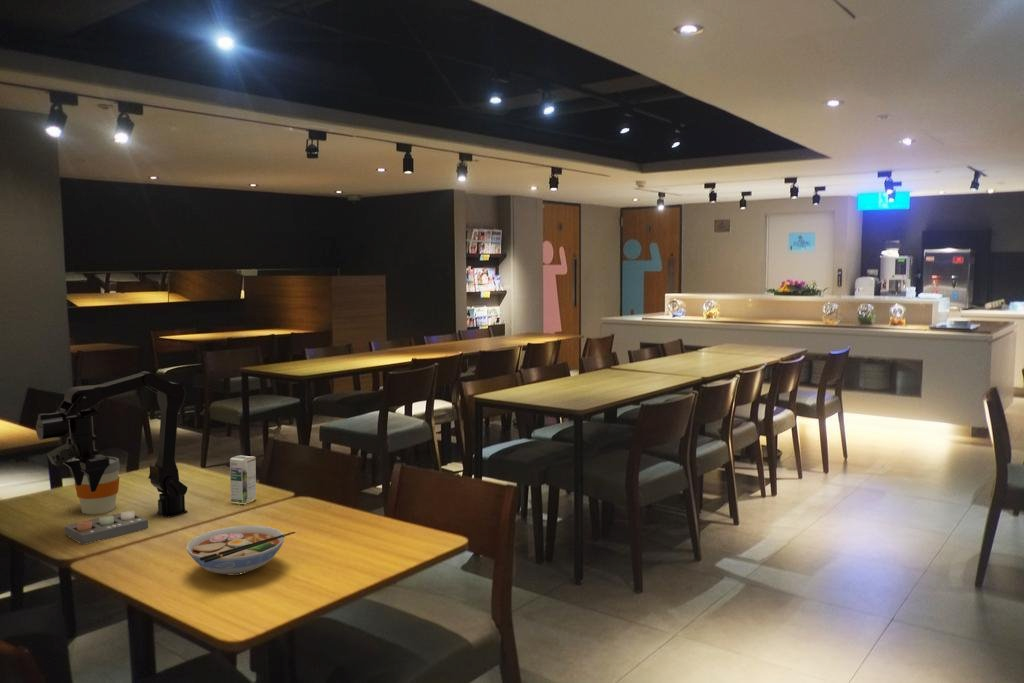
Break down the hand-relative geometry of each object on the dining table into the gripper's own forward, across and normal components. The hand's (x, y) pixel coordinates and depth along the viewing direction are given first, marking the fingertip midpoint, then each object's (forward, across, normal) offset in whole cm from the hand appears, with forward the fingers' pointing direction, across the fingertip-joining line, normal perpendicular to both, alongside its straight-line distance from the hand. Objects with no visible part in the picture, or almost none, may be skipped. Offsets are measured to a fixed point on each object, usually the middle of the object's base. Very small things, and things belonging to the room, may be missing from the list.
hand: (86, 488), depth 213 cm
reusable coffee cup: (+13, -19, +10) cm, 25 cm away
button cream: (+13, +3, +9) cm, 16 cm away
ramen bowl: (+13, +55, +12) cm, 58 cm away
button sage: (+13, +3, +4) cm, 13 cm away
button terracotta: (+13, +3, -2) cm, 13 cm away
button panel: (+13, +3, +4) cm, 13 cm away
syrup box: (+14, +7, +43) cm, 46 cm away
